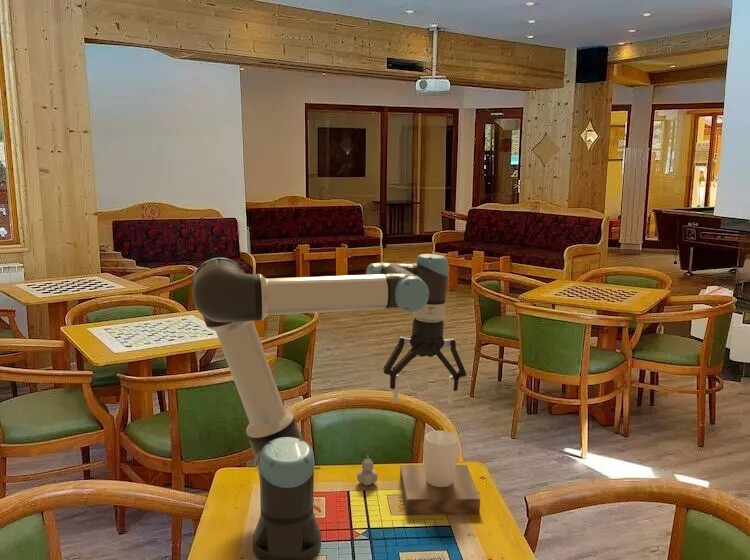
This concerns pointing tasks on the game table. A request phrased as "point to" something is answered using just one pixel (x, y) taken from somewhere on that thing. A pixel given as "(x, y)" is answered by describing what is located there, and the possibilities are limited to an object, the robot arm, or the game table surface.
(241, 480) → the game table surface
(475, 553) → the game table surface
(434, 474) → the cup
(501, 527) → the game table surface
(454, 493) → the walnut base
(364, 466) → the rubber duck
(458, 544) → the game table surface
